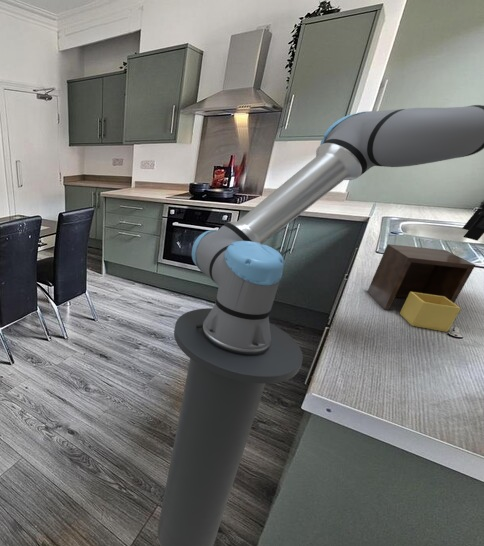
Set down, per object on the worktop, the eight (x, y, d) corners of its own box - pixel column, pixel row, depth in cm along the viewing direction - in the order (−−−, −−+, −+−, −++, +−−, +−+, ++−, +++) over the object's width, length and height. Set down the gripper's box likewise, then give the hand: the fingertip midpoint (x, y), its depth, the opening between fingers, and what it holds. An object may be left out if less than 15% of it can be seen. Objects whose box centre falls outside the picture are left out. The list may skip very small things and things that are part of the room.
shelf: (445, 319, 85) (475, 265, 79) (384, 309, 90) (408, 257, 84) (420, 299, 96) (445, 249, 90) (367, 291, 101) (387, 244, 94)
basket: (447, 332, 79) (461, 308, 77) (411, 325, 82) (423, 302, 79) (432, 318, 85) (444, 296, 83) (399, 313, 88) (410, 291, 85)
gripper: (567, 163, 69) (491, 248, 80) (546, 159, 85) (485, 231, 95) (516, 156, 74) (451, 237, 85) (504, 153, 89) (451, 222, 100)
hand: (469, 234), depth 90 cm, fingers open, 13 cm apart
